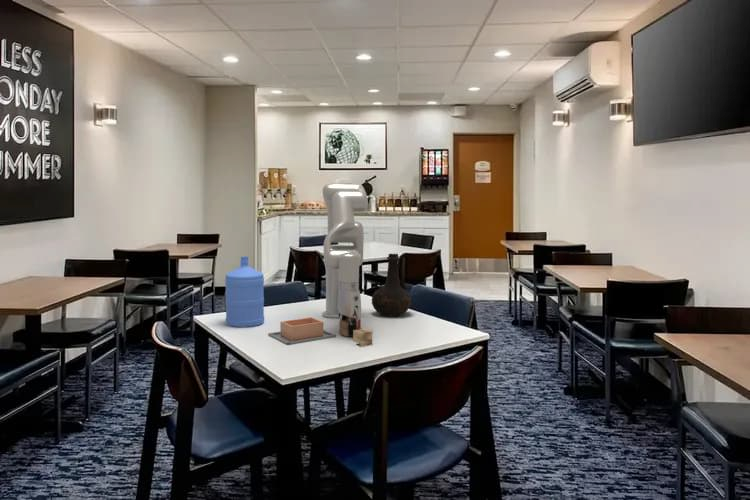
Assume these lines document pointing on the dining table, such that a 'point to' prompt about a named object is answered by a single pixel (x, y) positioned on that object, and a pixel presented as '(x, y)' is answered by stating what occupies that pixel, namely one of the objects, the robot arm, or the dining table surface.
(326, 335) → the tray
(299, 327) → the pot
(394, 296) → the brown vase
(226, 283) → the water jug
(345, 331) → the walnut block
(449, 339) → the dining table surface
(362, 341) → the oak block
